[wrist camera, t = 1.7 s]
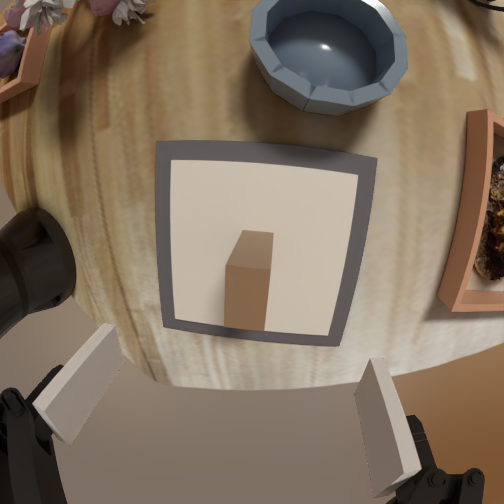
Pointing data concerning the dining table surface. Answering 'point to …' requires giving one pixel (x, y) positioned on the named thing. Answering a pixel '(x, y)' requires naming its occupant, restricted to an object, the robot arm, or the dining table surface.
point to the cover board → (263, 209)
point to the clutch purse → (489, 5)
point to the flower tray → (27, 62)
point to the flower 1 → (10, 52)
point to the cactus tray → (472, 218)
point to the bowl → (328, 52)
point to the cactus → (493, 229)
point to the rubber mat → (265, 155)
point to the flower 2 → (49, 9)
